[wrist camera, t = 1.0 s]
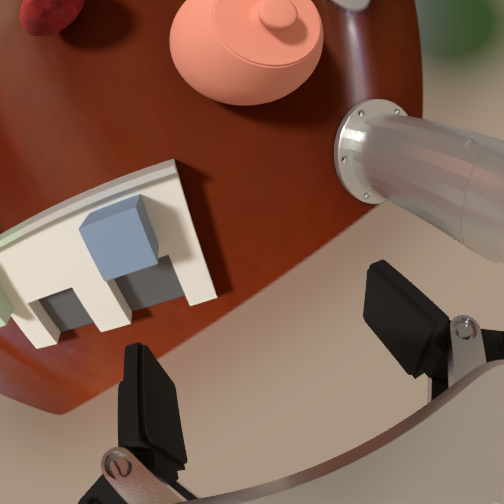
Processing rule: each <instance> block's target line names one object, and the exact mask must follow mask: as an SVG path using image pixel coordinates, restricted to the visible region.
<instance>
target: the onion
mask: <svg viewBox="0 0 504 504" xmlns="http://www.w3.org/2000/svg"><path fill="white" fill-rule="evenodd" d="M84 1H85V0H24V1H23V3H22V6H21V10H20V15H19V16H20V22H21V26H22V28H23V29H24V30H25V31H27V32H28V33H29V34H30V35H32V36H48V35H51V34H55V33H57V32H59V31H61V30H62V29H64V28H66V27H67V26H68V25H69V24H70V23H72V22H73V21H74V20H75V19H76V17H77V16H78V14H79V13H80V11H81V10H82V8H83V5H84Z"/></svg>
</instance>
